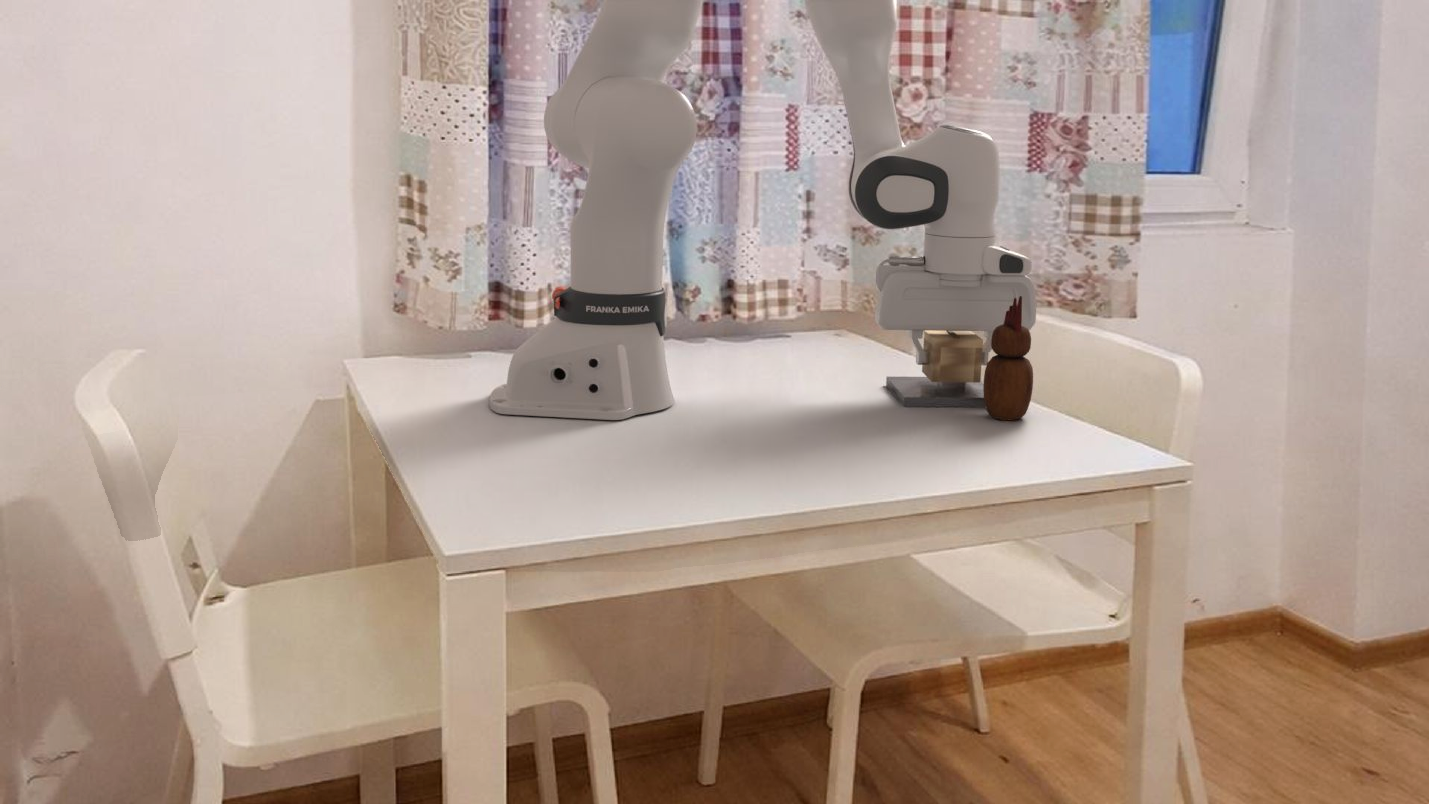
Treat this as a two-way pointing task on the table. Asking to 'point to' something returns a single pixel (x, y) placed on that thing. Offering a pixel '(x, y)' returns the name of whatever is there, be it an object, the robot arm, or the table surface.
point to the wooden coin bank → (953, 356)
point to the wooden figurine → (1009, 368)
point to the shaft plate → (935, 392)
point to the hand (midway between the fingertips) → (951, 364)
